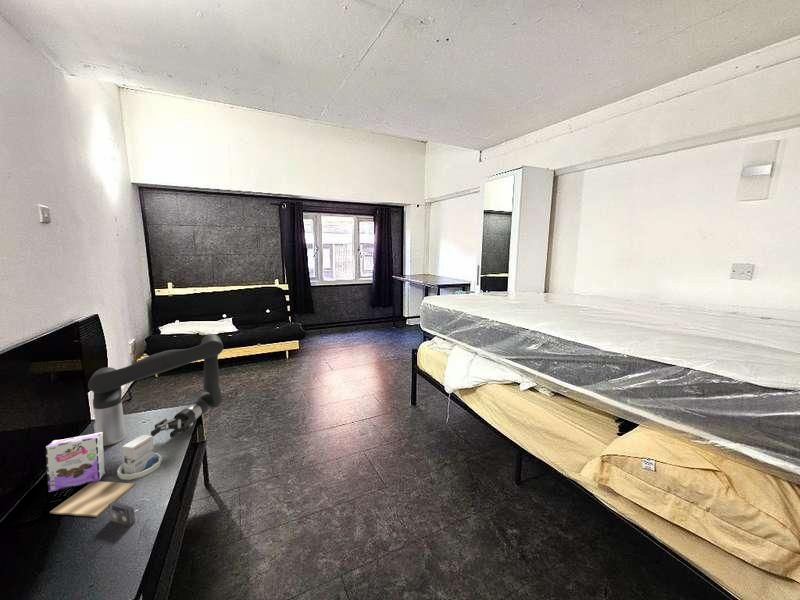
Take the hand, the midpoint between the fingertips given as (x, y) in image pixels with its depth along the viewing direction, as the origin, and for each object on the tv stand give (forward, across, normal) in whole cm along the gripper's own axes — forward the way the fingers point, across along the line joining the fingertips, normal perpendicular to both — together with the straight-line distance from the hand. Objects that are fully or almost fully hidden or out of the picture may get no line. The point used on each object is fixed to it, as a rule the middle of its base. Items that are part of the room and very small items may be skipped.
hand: (161, 434), depth 135 cm
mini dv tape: (+35, +16, +8) cm, 39 cm away
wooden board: (+27, -2, +7) cm, 28 cm away
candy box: (+21, -15, +7) cm, 27 cm away
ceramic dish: (+11, 0, +7) cm, 13 cm away
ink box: (+11, 0, +8) cm, 13 cm away
